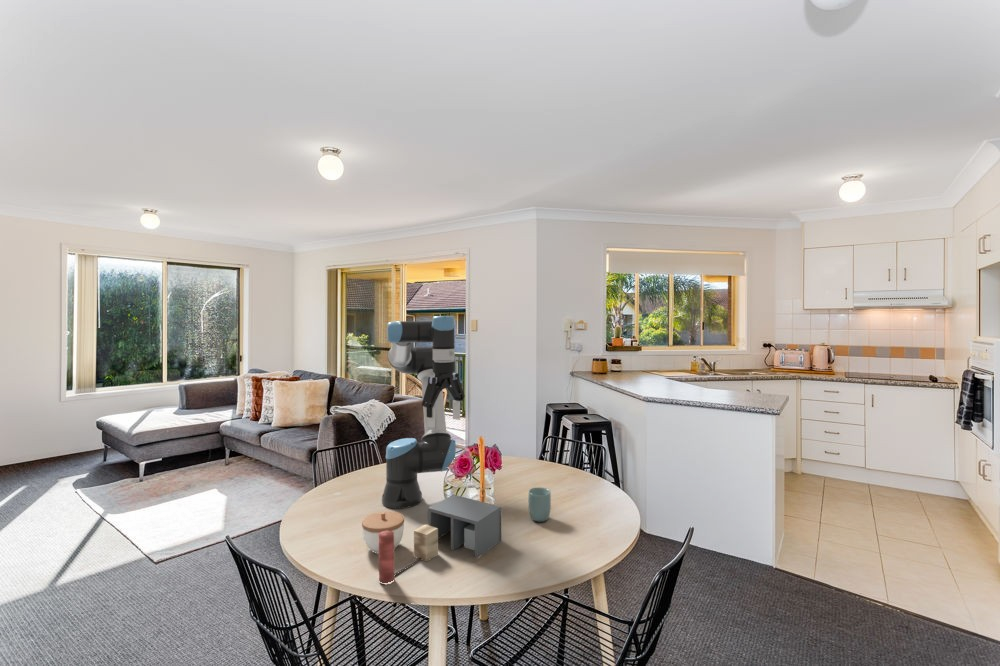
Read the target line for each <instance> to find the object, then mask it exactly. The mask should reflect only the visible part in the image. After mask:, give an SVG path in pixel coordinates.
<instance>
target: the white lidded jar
mask: <svg viewBox="0 0 1000 666" xmlns="http://www.w3.org/2000/svg"><path fill="white" fill-rule="evenodd" d="M361 526H362V536H363V541H364V543H365V545H366V547H367V548H368V549H370V550H371V552H372V551H374V552H376V553H379V533H380V532H383V531H392V532H394V550H396V548H397V546H398V545H400V542H401V541H402V539H403V535H404V530H405V528H404V527H405V517H404V515H403V514H402V513H400V512H397V511H393V510H392V511H390V510H386V511H377V512H373V513H371V514H369V515H367V516H365V517H363V519H362V522H361ZM395 547H396V548H395ZM374 552H373V553H374ZM376 553H375V554H376Z"/></svg>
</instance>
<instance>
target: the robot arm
mask: <svg viewBox="0 0 1000 666" xmlns="http://www.w3.org/2000/svg"><path fill="white" fill-rule="evenodd" d="M386 326H387V327H386V329H387V330H386V333H387V337H386V338H387V342H388V343H389V344H391V348H389V351H388V354H387V360H388V361H387V362H388V364H389V365H390V366H391V367H392V369H394V370H396V371H397V372H400V373H401V374H406V375H417V379H418V380H419V381H420V382H421V394H422V395H421V396H422V401H421V407H422V408H423V409H422V411H423V412H422V413H423V424H424V426H423V427H424V434H423V435H422V436H421V441H420V442H419V441H418V440H417V439H416V438H413V437H406V438H400V439H397V440H394V441H391V442H390V443H389V444H388V445H387V446H386V448H385V453H386V454H385V459H386V463H385V464H386V465H385V467H386V468H385V470H386V474H385V475H386V476H385V477H386V483H385V486H384V489H383V490H384V491H383V494H382V495H381V503H382V505H383V506H384V507H386V508H389V509H407V508H412V507H415V506H417V505H419V504H420V503H422V500H423V493H422V491H421V488H420V484H419V482H418V474H422V473H423V474H425V473H436V472H441V473H442V472H447V471H450V470H449V469H448V468H445V467H448V466H449V465H450V463H451V462H452V460H453V459H454V458H455V459H456V452H457V450H456V449H457V448H456V447H457V446H456V445H457V443H456V440H455V439H453V438H452V436H451V434H450V433H449V432H447V425H446V424H447V423H446V412H445V402H444V392H443V391H444V390H445V389H448V392H449V393H450V394H451V396H452V398H453V400H452V419H453V420H461V407H462V406H461V405H462V404H461V402H463V401H464V399H465V392H464V390H463V387H462V384H461V381H460V374H459V373H456V372H455V371H456V362H455V359H456V357H455V356H456V355H455V351H456V350H455V343H456V342H455V339H456V338H455V334H456V333H455V332H456V330H455V328H456V324H455V318H454V316H452V315H434V316H432V319H431V320H430V321H429V320H428V321H427V320H426V321H425V320H424V321H422V320H421V321H420V320H418V321H417V320H415V321H413V320H412V321H411V320H409V321H407V320H406V321H404V320H403V321H400V320H396V321H389V322H387V325H386ZM413 343H414V344H415V343H432V346H412V345H413ZM448 451H450V452H448ZM442 453H443V454H442Z"/></svg>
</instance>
